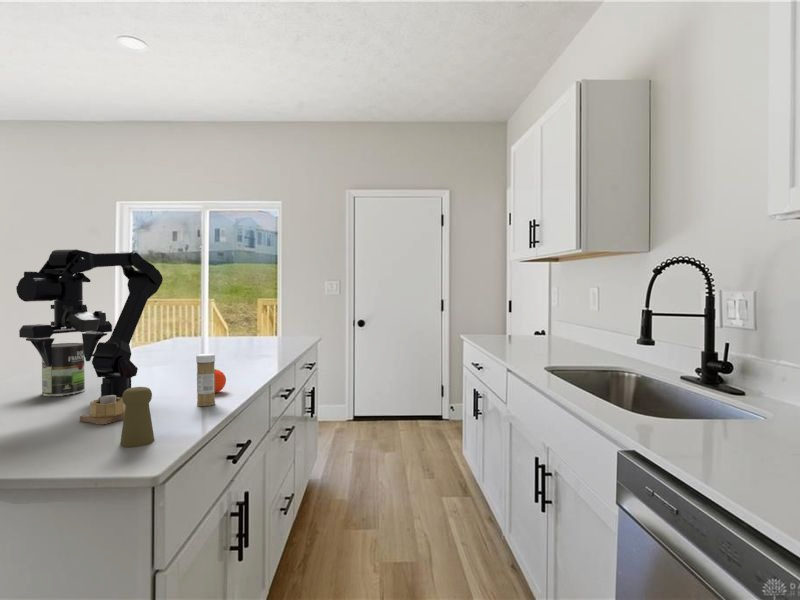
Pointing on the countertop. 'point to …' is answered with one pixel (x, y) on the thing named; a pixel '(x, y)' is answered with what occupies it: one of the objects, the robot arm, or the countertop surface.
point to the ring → (107, 408)
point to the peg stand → (107, 419)
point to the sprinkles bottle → (205, 379)
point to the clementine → (219, 380)
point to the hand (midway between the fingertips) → (69, 363)
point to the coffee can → (64, 370)
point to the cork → (137, 418)
